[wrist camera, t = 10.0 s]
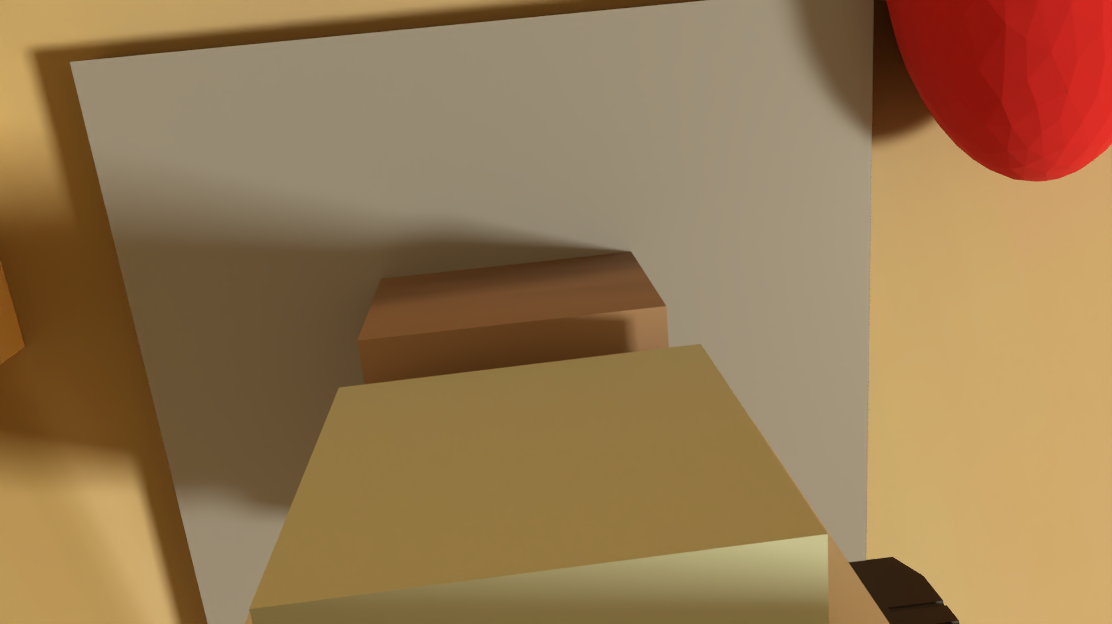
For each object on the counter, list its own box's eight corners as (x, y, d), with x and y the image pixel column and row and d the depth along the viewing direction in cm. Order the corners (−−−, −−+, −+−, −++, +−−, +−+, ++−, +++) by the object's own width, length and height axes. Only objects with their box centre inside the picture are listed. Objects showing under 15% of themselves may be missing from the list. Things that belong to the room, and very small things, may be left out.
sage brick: (338, 387, 15) (248, 608, 9) (700, 343, 15) (827, 533, 10) (390, 662, 17) (340, 992, 11) (716, 618, 17) (833, 921, 11)
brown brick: (381, 278, 20) (356, 340, 16) (631, 251, 20) (666, 306, 16) (419, 524, 22) (406, 633, 18) (648, 497, 22) (683, 598, 18)
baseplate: (94, 59, 19) (69, 61, 18) (851, -14, 20) (873, -16, 19) (245, 693, 24) (233, 727, 23) (847, 617, 25) (864, 645, 24)
